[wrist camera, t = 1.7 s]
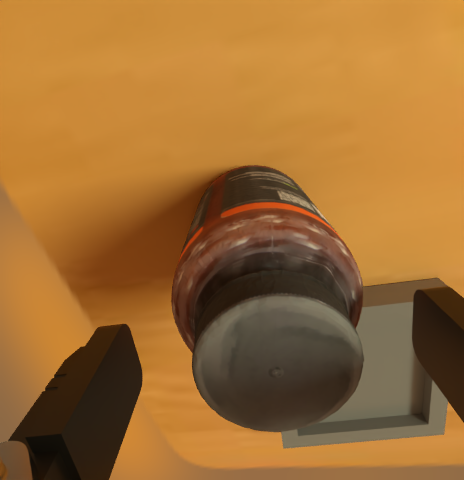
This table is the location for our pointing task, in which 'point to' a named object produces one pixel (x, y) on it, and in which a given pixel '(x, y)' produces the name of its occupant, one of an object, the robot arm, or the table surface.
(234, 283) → the supplement bottle
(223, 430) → the table surface
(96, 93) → the table surface
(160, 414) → the table surface
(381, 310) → the gray square tray
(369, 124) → the table surface
